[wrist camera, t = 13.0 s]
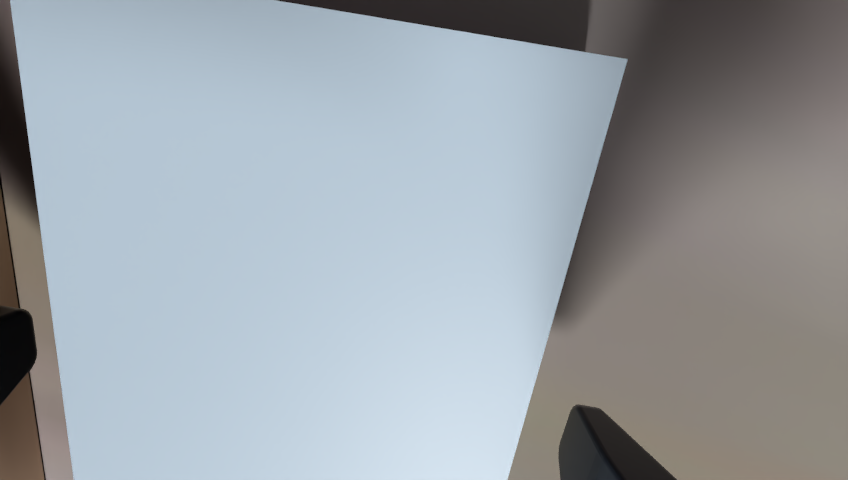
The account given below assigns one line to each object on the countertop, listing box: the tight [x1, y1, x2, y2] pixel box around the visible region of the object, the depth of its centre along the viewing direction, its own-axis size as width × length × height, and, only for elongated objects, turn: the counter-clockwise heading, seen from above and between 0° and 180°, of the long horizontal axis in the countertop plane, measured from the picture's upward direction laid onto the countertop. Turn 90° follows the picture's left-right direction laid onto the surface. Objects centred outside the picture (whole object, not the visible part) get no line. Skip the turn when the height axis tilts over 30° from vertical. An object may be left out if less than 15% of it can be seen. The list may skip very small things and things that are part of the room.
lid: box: [10, 0, 628, 480], centre depth 9 cm, size 11×7×2 cm, turn 171°
